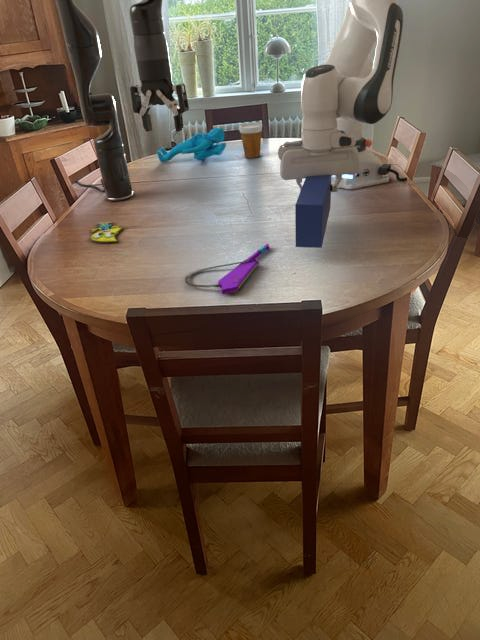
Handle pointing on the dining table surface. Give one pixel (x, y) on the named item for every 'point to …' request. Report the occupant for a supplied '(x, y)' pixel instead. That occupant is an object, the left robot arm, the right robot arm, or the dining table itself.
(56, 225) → the dining table surface
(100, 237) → the toy
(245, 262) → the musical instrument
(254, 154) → the glass of beer
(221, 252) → the dining table surface
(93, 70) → the left robot arm
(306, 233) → the box
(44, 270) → the dining table surface
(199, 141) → the toy
